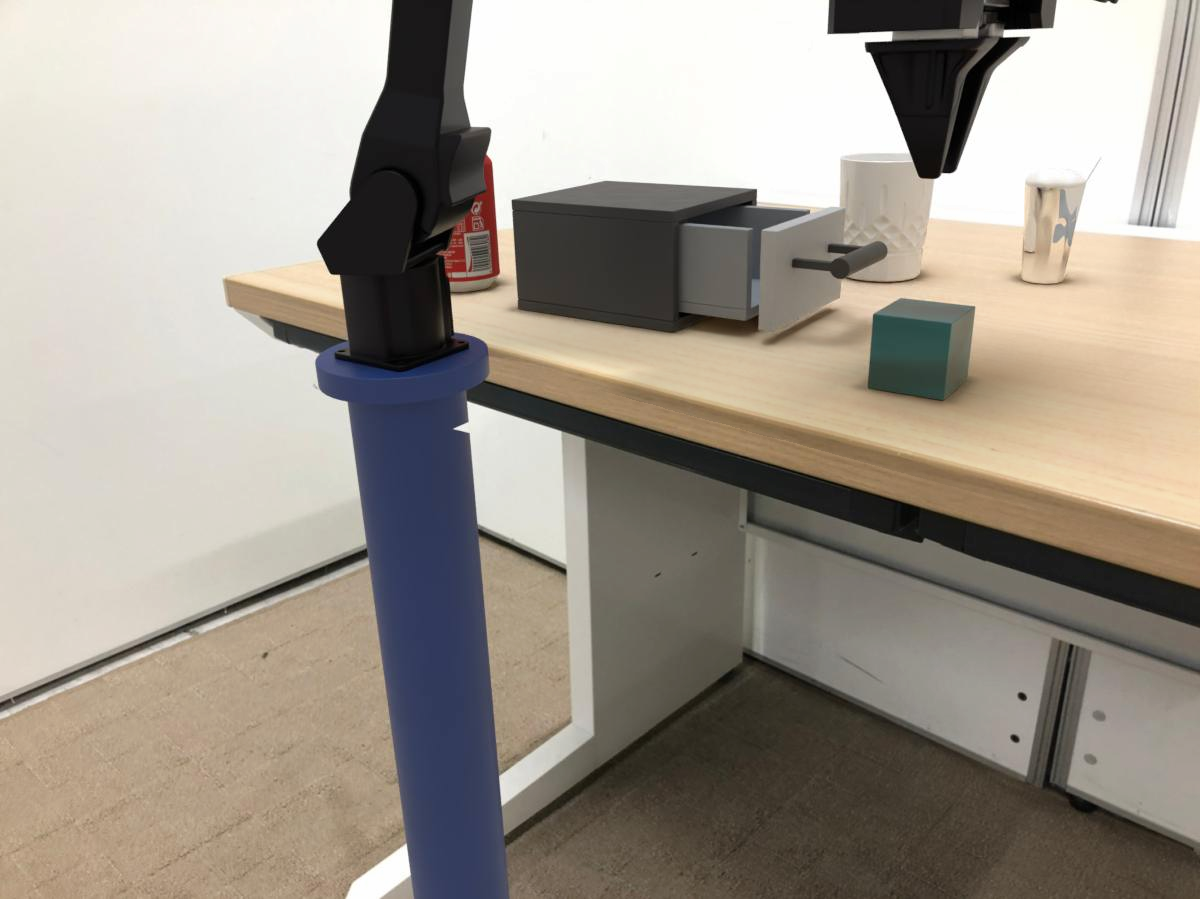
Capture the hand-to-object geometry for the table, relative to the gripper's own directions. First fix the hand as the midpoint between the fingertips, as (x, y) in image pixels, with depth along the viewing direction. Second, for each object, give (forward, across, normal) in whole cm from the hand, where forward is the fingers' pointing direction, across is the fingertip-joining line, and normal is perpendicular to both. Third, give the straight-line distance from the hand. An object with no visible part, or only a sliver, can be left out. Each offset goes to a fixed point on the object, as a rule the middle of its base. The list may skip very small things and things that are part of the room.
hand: (937, 175), depth 54 cm
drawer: (+11, +9, +16) cm, 21 cm away
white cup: (+12, +28, +13) cm, 33 cm away
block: (+12, 0, 0) cm, 12 cm away
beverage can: (+12, +7, +43) cm, 45 cm away
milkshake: (+12, +32, 0) cm, 34 cm away
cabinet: (+12, +9, +26) cm, 30 cm away
